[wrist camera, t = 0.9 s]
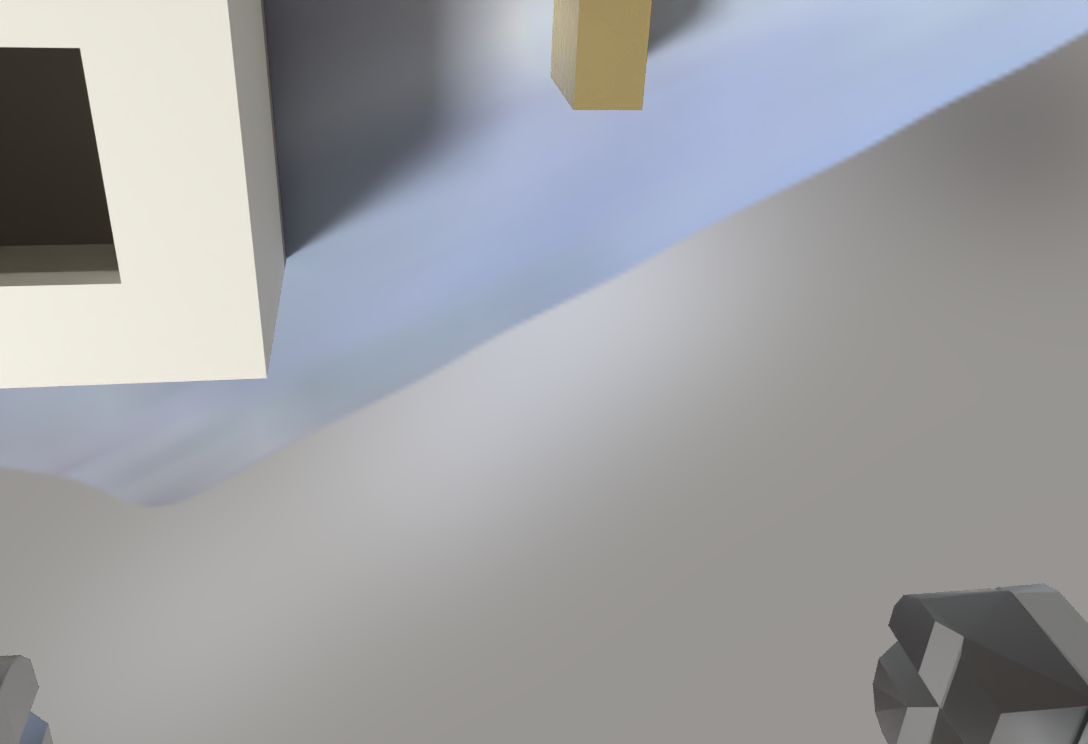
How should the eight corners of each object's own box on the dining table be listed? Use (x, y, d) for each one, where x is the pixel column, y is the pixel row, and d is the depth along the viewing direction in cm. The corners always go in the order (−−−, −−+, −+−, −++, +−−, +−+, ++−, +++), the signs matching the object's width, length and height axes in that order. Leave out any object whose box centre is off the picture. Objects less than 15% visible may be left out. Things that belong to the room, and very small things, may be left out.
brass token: (556, -61, 37) (581, -43, 33) (622, -59, 38) (655, -41, 33) (550, 76, 40) (573, 109, 36) (612, 76, 40) (641, 110, 36)
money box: (-125, -130, 33) (-296, -105, 24) (253, -116, 35) (217, -89, 26) (-26, 265, 40) (-132, 393, 31) (286, 258, 42) (266, 378, 33)
